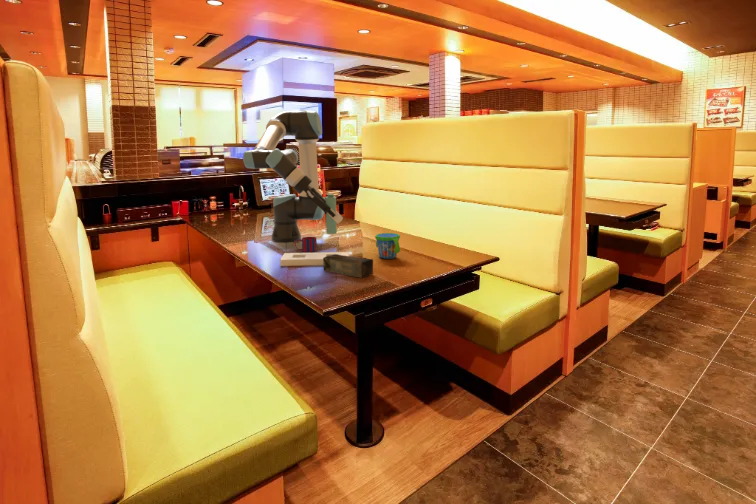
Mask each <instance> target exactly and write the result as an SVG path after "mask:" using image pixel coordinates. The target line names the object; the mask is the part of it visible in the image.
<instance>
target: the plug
mask: <svg viewBox="0 0 756 504" xmlns="http://www.w3.org/2000/svg"><path fill="white" fill-rule="evenodd" d="M325 200H326V204H327V205H328V206H329V207H330V208H332V209H333V210H334V211H335V212H336V211H337V197H336V196H335V193H327V196H325ZM325 222H326V224H325V225H326V234H327V235H335V234H337V232H338V231H337V229H338V228H337V222H336V221H334V220H333V219H332V218H331V217H330V216H329V215H328V214H327V213H326V214H325Z"/></svg>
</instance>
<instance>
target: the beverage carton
mask: <svg viewBox="0 0 756 504" xmlns="http://www.w3.org/2000/svg"><path fill="white" fill-rule="evenodd" d="M322 267H323V268H322V269H323V271H325V272H326V271H327V272H331V273H337V274H340V275H341V276H349V277H354V278H360V279H363V278H365V277H369V276H371V275H373V274H374V259H373V258H368V257H356V256H350V255H349V256H343V255H337V254H334V255H327V256H326V257H324V258H323V265H322Z"/></svg>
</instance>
